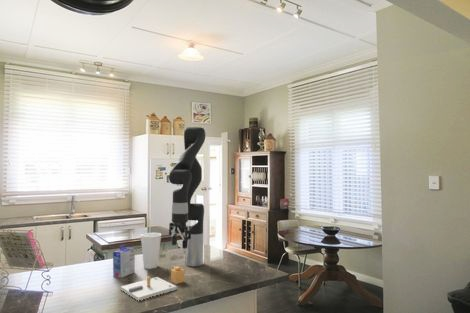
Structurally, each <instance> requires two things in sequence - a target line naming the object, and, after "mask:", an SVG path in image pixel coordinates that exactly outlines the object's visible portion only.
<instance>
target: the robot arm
mask: <svg viewBox="0 0 470 313" xmlns="http://www.w3.org/2000/svg"><path fill="white" fill-rule="evenodd" d="M205 139H206V130H205V128H204V127H201V126H187V127H185V128H184V133H183V142H184V145H183V146H184V151H183V152H182V153H181V155H180V156H179V159H178V161H177V163H176V164H175V165H174V166H173V168H172V169H171V170H170V172H169V175H168V180H169V182H170V183H171V184H172V185H182V186H181V187H180V188H178V189H175V190H173V192H172V204H171V205H172V206H171V222H169V226H168V227H169V228H168V235H169V236H171V245H172V246H176V245H177V241H178V240H177V238H178V237H177V236H178V235H179V236H180V237H181V239H182V243H181V244H182V249H185V251H184V252H185V255H184V263H185V265H186V266H187V267H188V266H189V267H200V266H203V264H204V221H205V220H204V219H205V218H204V217H205V206H204V204H203V203H191V201H192V197H193V196H194V193H195V192H196V191H197V189H198V187H199V185H200V184H201V182H202V176H203V175H202V174H203V170H202V166H201V164H200V162H199V160H198V159H197V155H198V153H199V152H200V150H201V149H202V147H203V145H204V143H205ZM188 221H196V222H197V223H195V224H193V225H187V223H188Z"/></svg>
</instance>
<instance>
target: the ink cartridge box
mask: <svg viewBox="0 0 470 313" xmlns="http://www.w3.org/2000/svg"><path fill="white" fill-rule="evenodd" d="M118 246H119V249H118V250H116V251H113V252H112V260H113V261H112V270H113V272H112V273H113V276H112V277H114V278H117V279H122V278H125V277H126V276H128V275H131V274H134V273H135V271H136V270H135V267H136V266H135V264H136V263H135V261H136V260H135V259H136V258H135V250H136V249H135V248H134V247H128V246H127V247H126V245H125V243H124V244H120V245H118Z"/></svg>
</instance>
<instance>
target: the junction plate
mask: <svg viewBox="0 0 470 313" xmlns="http://www.w3.org/2000/svg"><path fill="white" fill-rule="evenodd" d="M121 290H122V291H121ZM176 290H177V285H176V284H175V285H174V283H172V282H171V283H170V282H169V281H166V280H164V279H162V278H160V277H158V276H155V277H152V278H151V276H147V277H146V279H144V280H140V281H137V282H133V283H129V284H124V285H122V286H121V285H120V291H121V292H123V291H124V292H125V293H124V292H123V293H124V294H126V293H127V294H126V295H128V296H129V295H130V296H129V297H131V296H132V297H133V299H134V298H135V299H136V300H135V299H134V300H135V301H137V300H138V301H137V302H140V301H139V300H141V301H144V300H143V299H145V300H147V299H146V298H148V299H150V298H149V297H151V298H153V297H152V296H154V297H157V296H156V295H158V296H160V294H161V295H163V293H164V294H167V293H171V292H173V291H176ZM170 291H171V292H170ZM132 297H131V298H132Z"/></svg>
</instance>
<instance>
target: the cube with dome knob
mask: <svg viewBox="0 0 470 313" xmlns="http://www.w3.org/2000/svg"><path fill="white" fill-rule="evenodd" d="M170 282H171V283H172V284H175V285H177V284H181V283H184V282H185V270H184V268H182V267H181V266H174V267H173V268H172V269H170Z"/></svg>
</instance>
